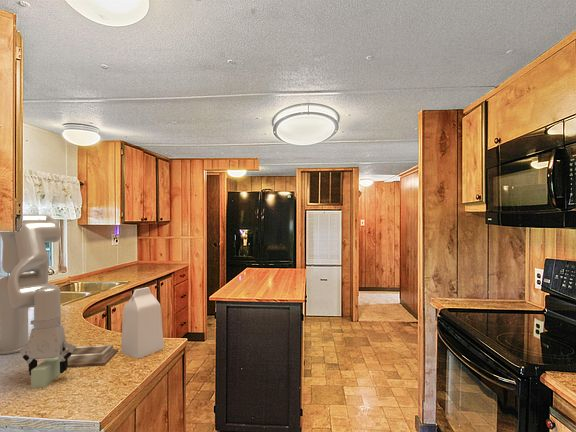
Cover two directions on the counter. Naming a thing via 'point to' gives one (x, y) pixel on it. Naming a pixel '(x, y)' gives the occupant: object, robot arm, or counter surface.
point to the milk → (142, 325)
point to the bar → (45, 372)
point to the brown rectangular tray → (91, 355)
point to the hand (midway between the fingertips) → (48, 372)
